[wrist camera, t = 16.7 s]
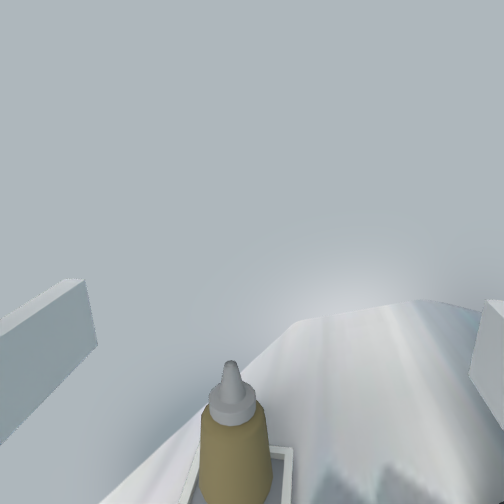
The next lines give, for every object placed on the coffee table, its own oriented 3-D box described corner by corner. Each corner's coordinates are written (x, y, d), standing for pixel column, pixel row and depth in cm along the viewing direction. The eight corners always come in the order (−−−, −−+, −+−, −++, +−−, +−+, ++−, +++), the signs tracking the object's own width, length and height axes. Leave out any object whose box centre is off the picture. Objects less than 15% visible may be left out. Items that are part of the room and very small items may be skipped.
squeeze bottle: (273, 467, 42) (274, 340, 36) (272, 541, 35) (272, 397, 29) (208, 463, 43) (198, 338, 37) (193, 535, 36) (176, 393, 30)
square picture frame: (293, 460, 45) (293, 448, 44) (286, 585, 33) (287, 570, 32) (202, 449, 46) (201, 437, 46) (164, 563, 34) (162, 548, 34)
